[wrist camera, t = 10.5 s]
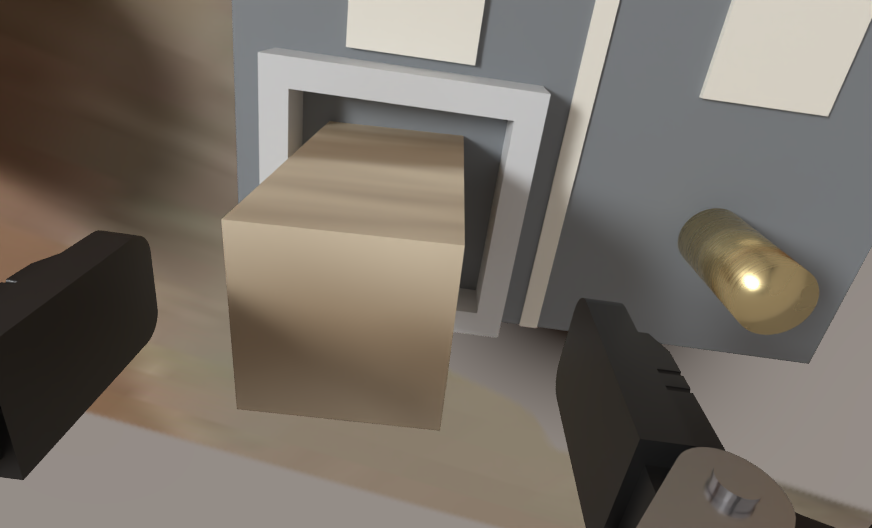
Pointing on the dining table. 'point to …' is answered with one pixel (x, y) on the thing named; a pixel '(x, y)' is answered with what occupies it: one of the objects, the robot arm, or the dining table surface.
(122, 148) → the dining table surface
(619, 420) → the robot arm
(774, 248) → the pin
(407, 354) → the square pin
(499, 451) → the dining table surface
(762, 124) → the board
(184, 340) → the dining table surface
